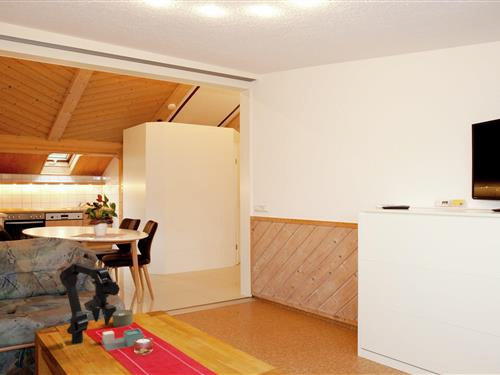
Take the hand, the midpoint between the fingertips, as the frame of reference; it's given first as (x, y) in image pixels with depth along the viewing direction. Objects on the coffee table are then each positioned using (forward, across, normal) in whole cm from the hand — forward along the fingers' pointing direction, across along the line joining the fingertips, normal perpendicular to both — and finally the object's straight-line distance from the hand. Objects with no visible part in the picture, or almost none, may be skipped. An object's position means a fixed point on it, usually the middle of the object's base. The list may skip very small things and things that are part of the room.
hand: (101, 323), depth 227 cm
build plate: (+13, +2, +11) cm, 17 cm away
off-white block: (+12, -4, +6) cm, 14 cm away
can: (+14, -28, +31) cm, 44 cm away
